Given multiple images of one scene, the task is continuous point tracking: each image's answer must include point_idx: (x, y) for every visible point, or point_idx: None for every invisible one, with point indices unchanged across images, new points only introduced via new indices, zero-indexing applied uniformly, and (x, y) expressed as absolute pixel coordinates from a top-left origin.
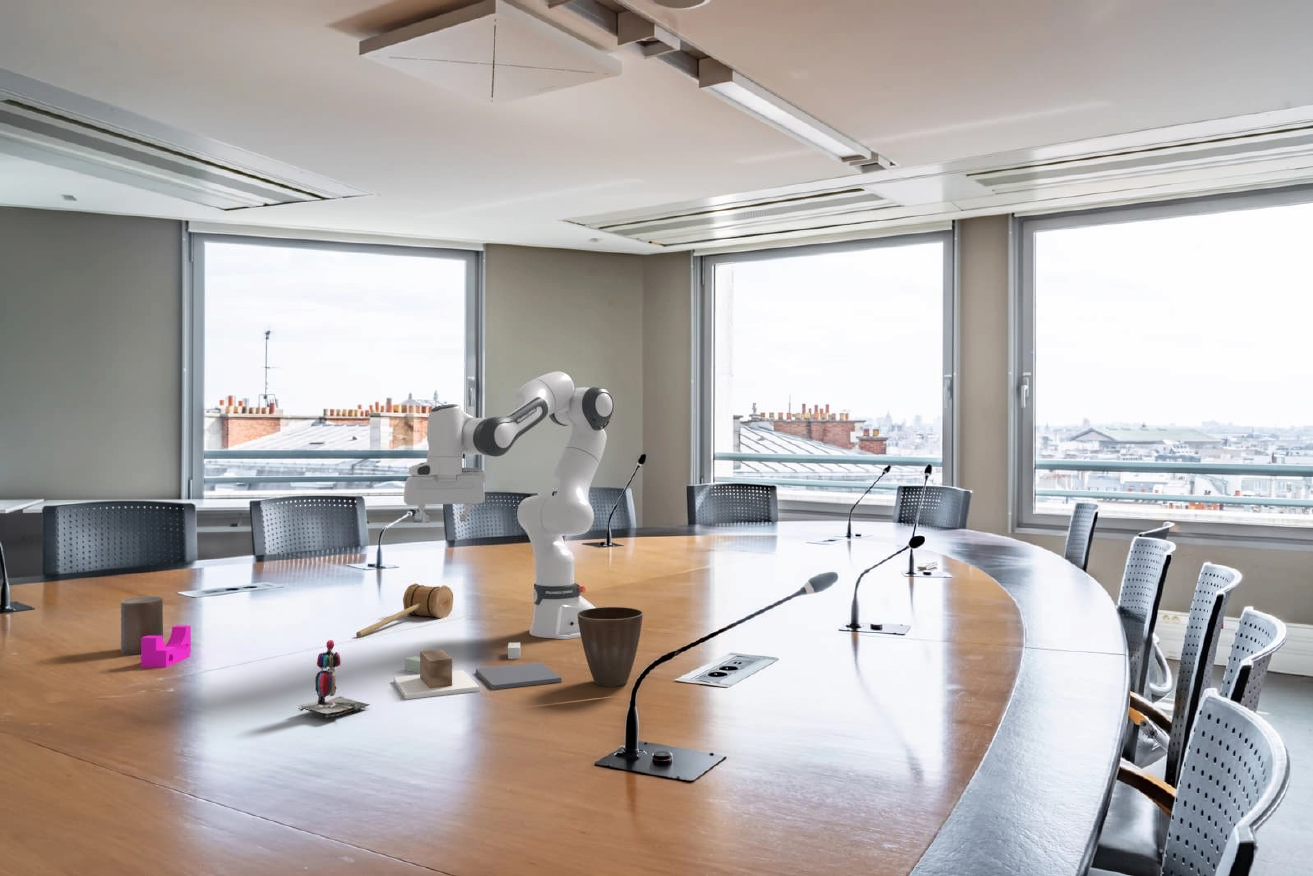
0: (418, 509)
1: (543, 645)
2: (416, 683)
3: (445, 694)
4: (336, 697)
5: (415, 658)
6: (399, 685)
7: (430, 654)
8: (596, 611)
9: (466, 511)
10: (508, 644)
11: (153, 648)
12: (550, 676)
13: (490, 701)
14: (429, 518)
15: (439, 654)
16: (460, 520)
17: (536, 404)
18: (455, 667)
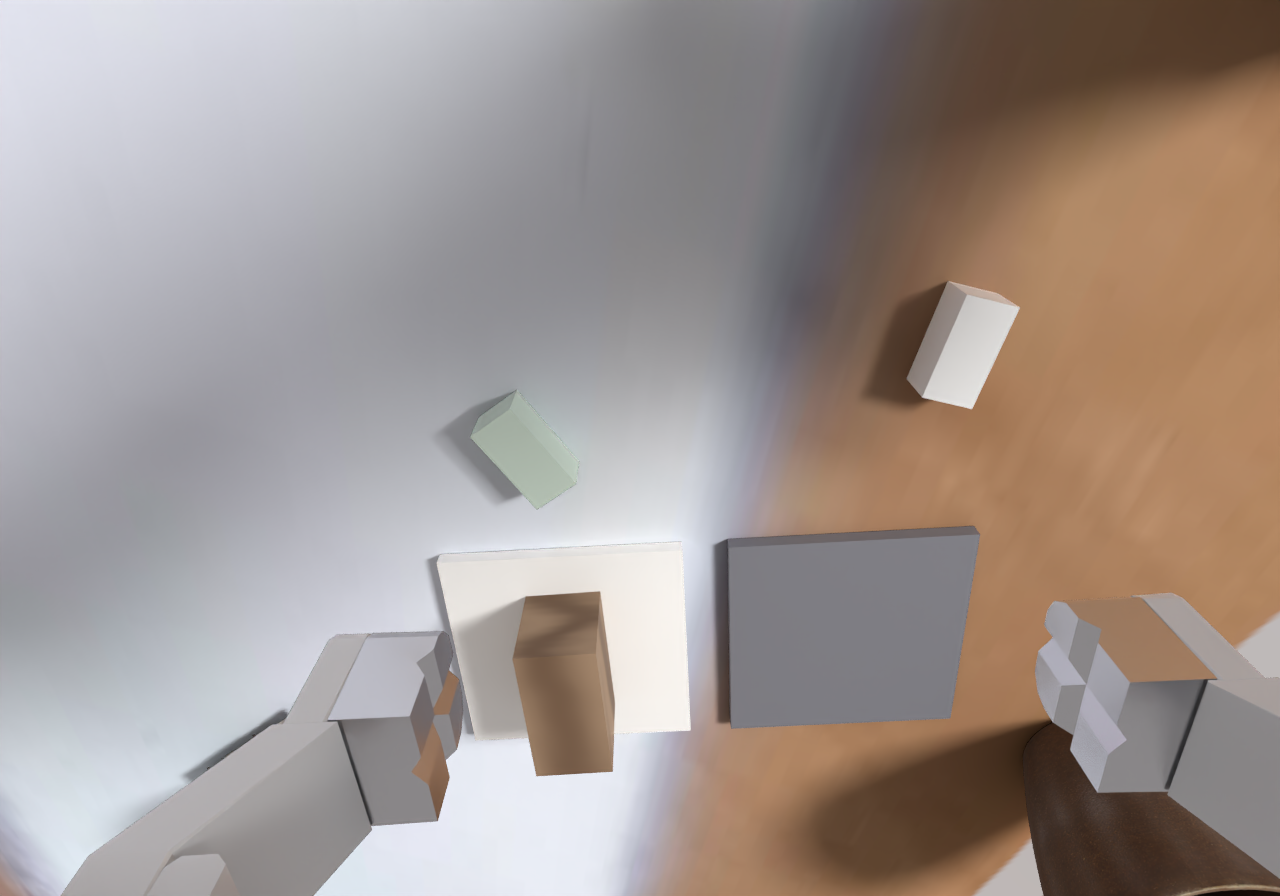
0: (106, 845)
1: (1175, 163)
2: (510, 652)
3: None
4: (281, 722)
5: (512, 452)
6: (457, 657)
7: (546, 705)
8: (1216, 879)
9: (1260, 858)
10: (951, 331)
11: None
12: (925, 699)
13: (697, 798)
14: (446, 776)
15: (578, 713)
16: (1055, 641)
17: None
18: (673, 438)
